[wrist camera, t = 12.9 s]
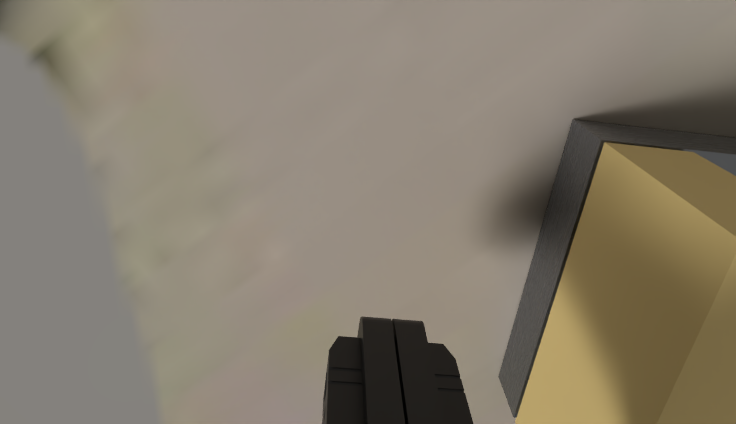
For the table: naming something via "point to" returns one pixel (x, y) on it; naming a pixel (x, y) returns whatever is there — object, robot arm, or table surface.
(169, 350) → the table surface
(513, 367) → the plate
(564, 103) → the table surface
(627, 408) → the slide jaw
